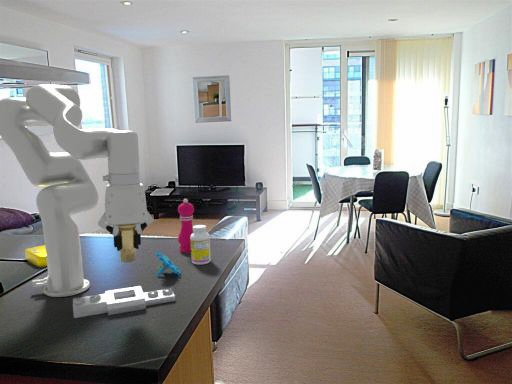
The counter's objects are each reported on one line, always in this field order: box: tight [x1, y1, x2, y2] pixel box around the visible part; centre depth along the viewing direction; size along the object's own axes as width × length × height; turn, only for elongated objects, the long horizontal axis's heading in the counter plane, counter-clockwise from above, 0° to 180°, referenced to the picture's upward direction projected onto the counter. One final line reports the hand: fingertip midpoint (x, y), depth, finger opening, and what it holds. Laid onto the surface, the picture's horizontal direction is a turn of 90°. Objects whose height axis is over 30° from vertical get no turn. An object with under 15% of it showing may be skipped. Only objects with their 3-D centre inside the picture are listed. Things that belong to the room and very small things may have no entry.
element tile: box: [24, 244, 47, 268], centre depth 166 cm, size 15×15×5 cm
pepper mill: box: [177, 198, 195, 254], centre depth 170 cm, size 7×7×20 cm
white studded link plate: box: [72, 285, 176, 319], centre depth 123 cm, size 26×10×4 cm, turn 111°
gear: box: [155, 251, 182, 277], centre depth 145 cm, size 11×6×10 cm
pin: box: [118, 224, 137, 263], centre depth 118 cm, size 5×5×10 cm
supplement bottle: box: [190, 224, 211, 266], centre depth 157 cm, size 7×7×13 cm
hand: (127, 247), depth 118 cm, fingers closed on pin, 4 cm apart
